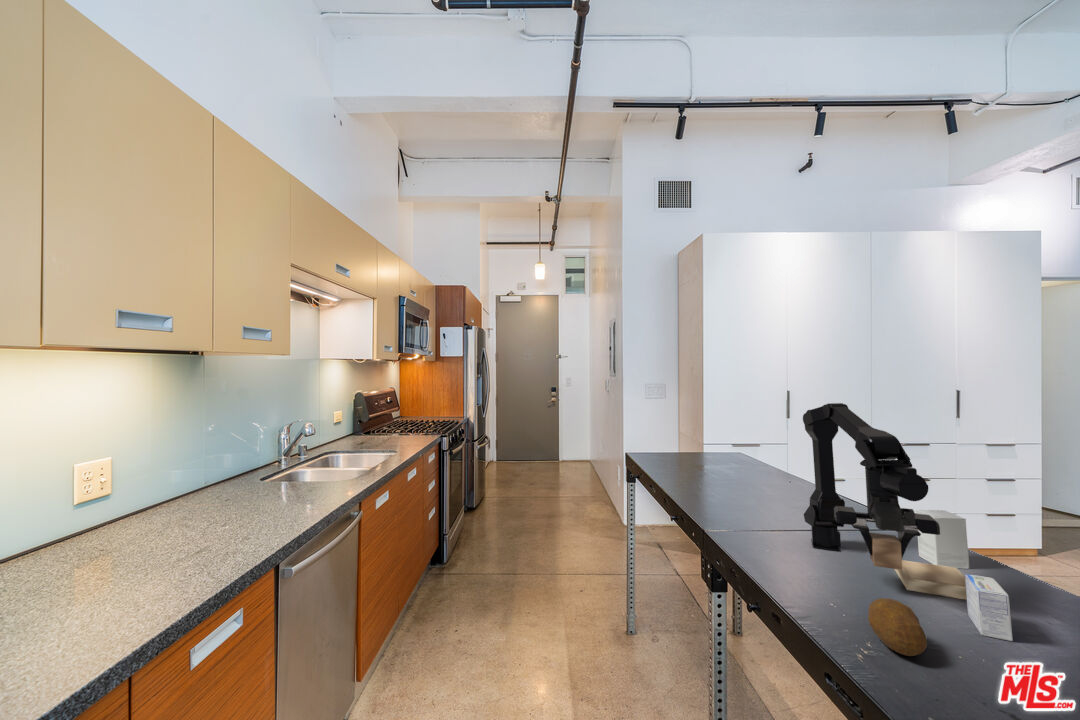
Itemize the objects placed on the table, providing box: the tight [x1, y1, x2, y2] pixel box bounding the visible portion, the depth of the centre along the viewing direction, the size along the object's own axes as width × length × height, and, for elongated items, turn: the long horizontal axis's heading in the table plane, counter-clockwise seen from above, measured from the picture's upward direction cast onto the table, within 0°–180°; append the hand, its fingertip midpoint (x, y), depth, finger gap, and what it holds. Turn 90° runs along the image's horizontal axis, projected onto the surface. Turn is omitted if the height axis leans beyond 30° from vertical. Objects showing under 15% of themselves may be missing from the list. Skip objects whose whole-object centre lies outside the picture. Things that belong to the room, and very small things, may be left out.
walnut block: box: [869, 531, 903, 570], centre depth 100 cm, size 5×5×6 cm
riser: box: [894, 559, 967, 601], centre depth 102 cm, size 12×12×3 cm
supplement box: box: [915, 509, 970, 570], centre depth 113 cm, size 7×7×13 cm
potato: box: [867, 597, 928, 657], centre depth 80 cm, size 8×12×8 cm, turn 169°
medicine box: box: [964, 574, 1014, 642], centre depth 84 cm, size 8×4×9 cm, turn 148°
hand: (885, 556), depth 100 cm, fingers closed on walnut block, 5 cm apart
